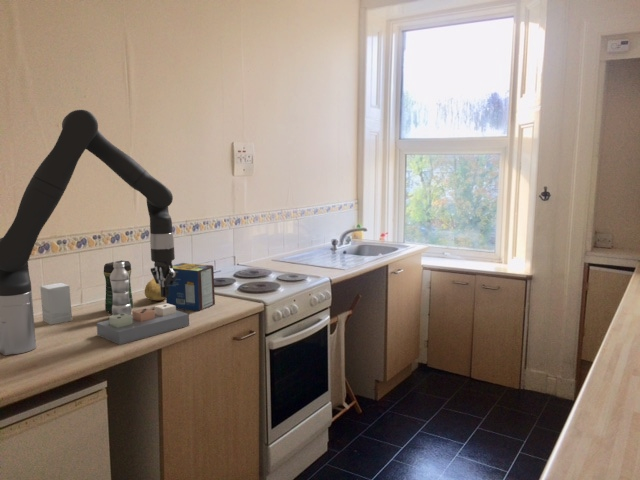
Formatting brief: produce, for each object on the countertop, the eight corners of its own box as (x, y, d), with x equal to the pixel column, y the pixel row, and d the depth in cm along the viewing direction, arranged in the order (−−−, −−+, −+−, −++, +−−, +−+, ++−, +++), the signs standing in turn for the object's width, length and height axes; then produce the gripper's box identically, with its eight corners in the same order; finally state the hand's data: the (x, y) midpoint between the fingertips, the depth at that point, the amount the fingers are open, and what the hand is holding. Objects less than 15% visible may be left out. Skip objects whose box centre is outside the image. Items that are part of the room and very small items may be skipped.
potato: (180, 297, 215) (179, 274, 214) (152, 305, 203) (151, 281, 202) (162, 294, 220) (161, 272, 219) (135, 302, 208) (133, 278, 207)
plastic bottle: (125, 320, 184) (122, 263, 181) (108, 319, 185) (104, 263, 182) (135, 314, 190) (132, 260, 187) (118, 313, 191) (115, 260, 188)
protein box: (182, 300, 210) (181, 262, 208) (215, 304, 204) (214, 265, 202) (165, 307, 200) (163, 267, 198) (199, 311, 194) (197, 270, 192)
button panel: (119, 344, 158) (119, 331, 158) (97, 335, 167) (96, 322, 167) (189, 325, 177) (188, 314, 176) (165, 317, 186) (165, 306, 185)
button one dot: (163, 322, 174) (162, 308, 174) (155, 319, 178) (154, 305, 177) (176, 318, 178) (175, 305, 177) (168, 315, 181) (167, 302, 181)
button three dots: (141, 327, 168) (140, 313, 168) (133, 324, 172) (132, 310, 171) (155, 324, 172) (154, 310, 171) (147, 321, 175) (146, 307, 175)
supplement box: (72, 320, 183) (70, 285, 182) (50, 325, 178) (47, 289, 176) (64, 316, 188) (61, 282, 186) (42, 321, 183) (39, 285, 181)
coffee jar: (117, 314, 190) (114, 264, 188) (101, 312, 194) (98, 262, 191) (137, 308, 199) (134, 260, 196) (121, 305, 202) (119, 258, 200)
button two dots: (118, 333, 162) (117, 319, 162) (110, 330, 166) (109, 316, 165) (132, 329, 166) (132, 315, 165) (124, 326, 169) (124, 312, 169)
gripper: (141, 245, 176) (144, 296, 178) (163, 249, 167) (166, 302, 170) (161, 243, 181) (163, 291, 184) (183, 246, 173) (186, 297, 175)
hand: (165, 297), depth 177 cm, fingers closed
